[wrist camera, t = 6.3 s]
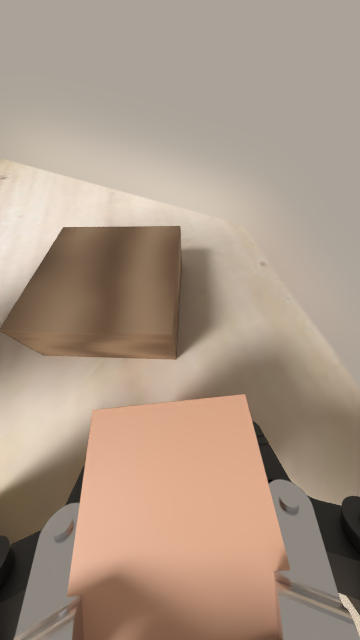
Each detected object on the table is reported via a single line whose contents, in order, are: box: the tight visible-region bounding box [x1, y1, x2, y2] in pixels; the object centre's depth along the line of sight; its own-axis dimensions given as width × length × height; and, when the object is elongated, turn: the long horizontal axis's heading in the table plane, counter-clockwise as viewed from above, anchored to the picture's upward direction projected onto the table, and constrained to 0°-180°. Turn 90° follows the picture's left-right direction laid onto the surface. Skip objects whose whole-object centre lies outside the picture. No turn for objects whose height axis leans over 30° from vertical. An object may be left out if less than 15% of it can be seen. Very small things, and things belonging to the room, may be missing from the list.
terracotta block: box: [67, 394, 290, 640], centre depth 9 cm, size 5×5×9 cm
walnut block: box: [0, 226, 182, 359], centre depth 18 cm, size 12×12×5 cm
